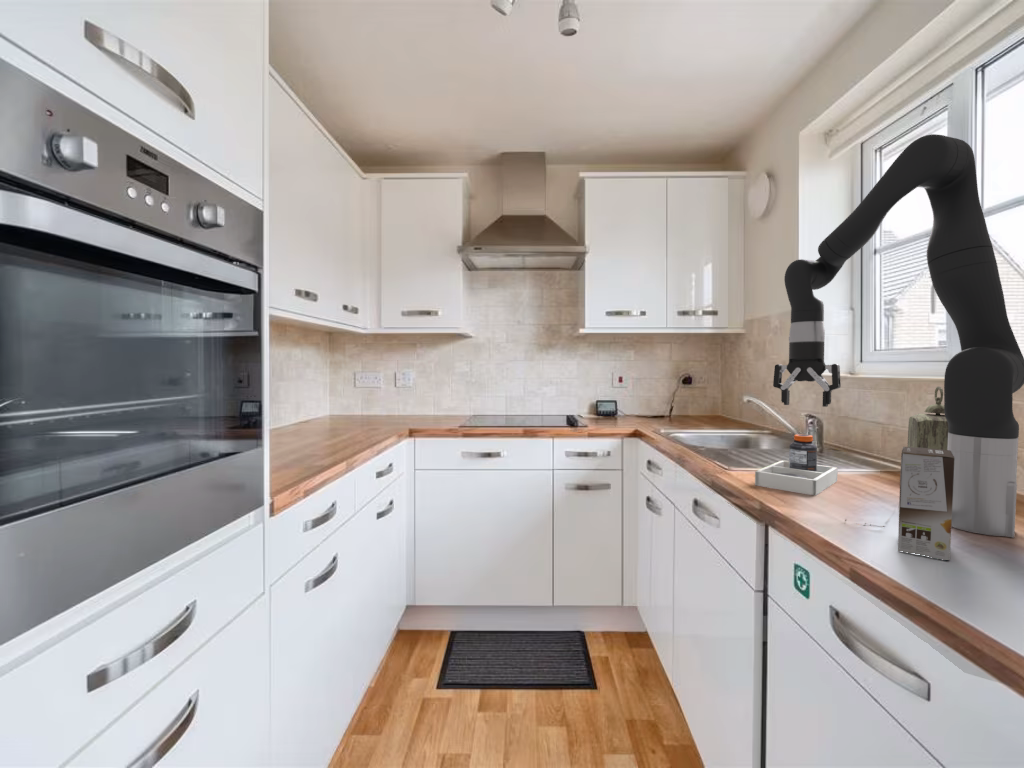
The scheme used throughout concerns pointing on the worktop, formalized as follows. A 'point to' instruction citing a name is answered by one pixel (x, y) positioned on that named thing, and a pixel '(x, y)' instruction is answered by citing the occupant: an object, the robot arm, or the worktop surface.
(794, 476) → the cord coil
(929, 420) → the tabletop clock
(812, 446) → the pill bottle
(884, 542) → the worktop surface
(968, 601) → the worktop surface
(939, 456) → the coffee box
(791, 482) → the tray
